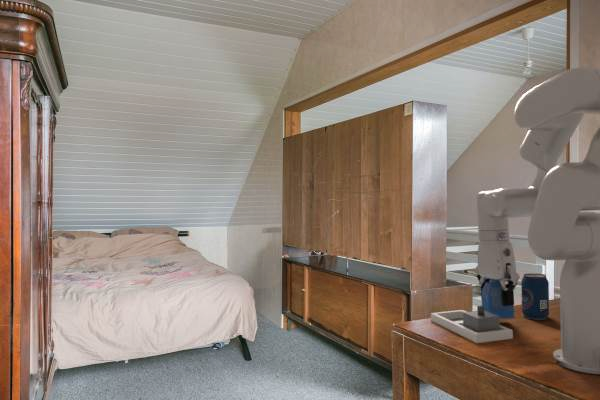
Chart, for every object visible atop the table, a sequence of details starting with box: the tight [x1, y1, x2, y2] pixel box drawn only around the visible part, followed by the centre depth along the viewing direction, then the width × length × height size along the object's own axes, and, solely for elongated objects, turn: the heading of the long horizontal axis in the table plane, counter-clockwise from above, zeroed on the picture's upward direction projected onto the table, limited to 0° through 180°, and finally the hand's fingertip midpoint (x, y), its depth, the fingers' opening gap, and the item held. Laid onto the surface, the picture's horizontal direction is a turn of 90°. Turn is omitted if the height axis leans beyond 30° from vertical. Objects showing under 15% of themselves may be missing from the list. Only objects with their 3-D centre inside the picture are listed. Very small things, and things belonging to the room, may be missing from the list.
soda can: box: [520, 273, 550, 321], centre depth 130 cm, size 7×7×12 cm
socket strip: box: [430, 309, 514, 344], centre depth 117 cm, size 20×10×3 cm, turn 15°
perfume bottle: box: [480, 279, 515, 320], centre depth 121 cm, size 6×6×12 cm
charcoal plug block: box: [463, 304, 501, 333], centre depth 112 cm, size 6×6×7 cm
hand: (497, 302), depth 121 cm, fingers closed on perfume bottle, 7 cm apart
